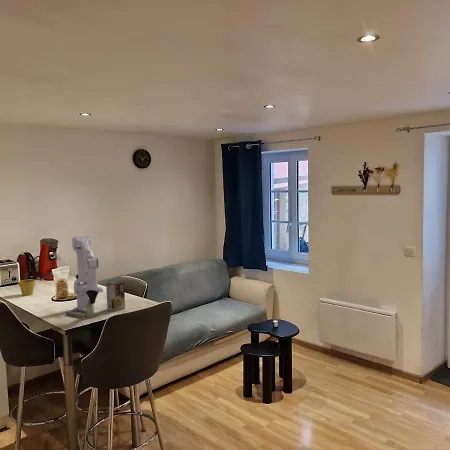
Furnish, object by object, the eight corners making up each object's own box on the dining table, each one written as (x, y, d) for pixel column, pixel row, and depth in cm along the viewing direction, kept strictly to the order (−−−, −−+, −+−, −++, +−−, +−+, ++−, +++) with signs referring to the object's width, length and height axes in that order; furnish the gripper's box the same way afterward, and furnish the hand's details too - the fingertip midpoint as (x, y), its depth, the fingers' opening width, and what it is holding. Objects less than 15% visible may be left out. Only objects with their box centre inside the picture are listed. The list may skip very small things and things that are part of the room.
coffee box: (120, 306, 269) (119, 280, 268) (125, 308, 264) (124, 282, 263) (106, 309, 263) (105, 282, 262) (111, 311, 258) (110, 284, 257)
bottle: (90, 315, 250) (89, 298, 249) (95, 316, 247) (95, 299, 247) (84, 317, 246) (83, 299, 245) (89, 318, 244) (89, 300, 243)
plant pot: (24, 297, 295) (23, 283, 294) (16, 295, 301) (15, 281, 301) (38, 294, 303) (38, 280, 303) (30, 292, 310) (30, 278, 309)
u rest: (77, 311, 257) (77, 308, 257) (92, 314, 251) (91, 311, 251) (66, 315, 250) (66, 311, 250) (81, 317, 244) (81, 314, 244)
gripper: (77, 279, 244) (78, 303, 245) (96, 282, 237) (96, 306, 238) (87, 277, 250) (87, 300, 251) (105, 279, 243) (106, 303, 244)
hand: (92, 303), depth 245 cm, fingers closed
